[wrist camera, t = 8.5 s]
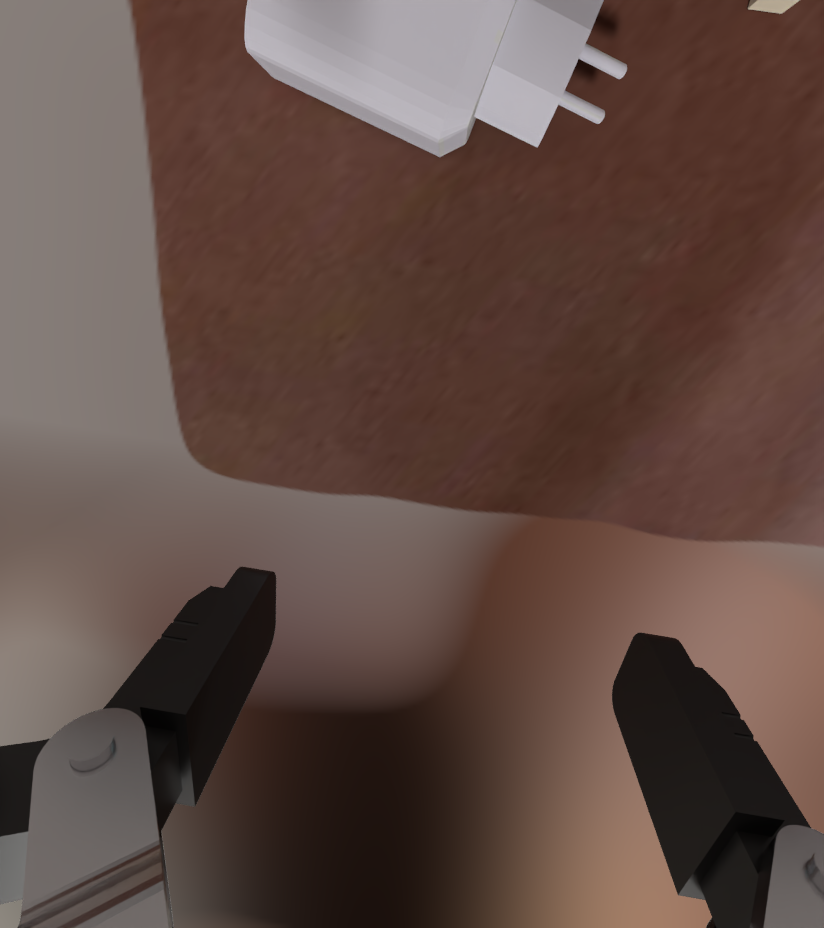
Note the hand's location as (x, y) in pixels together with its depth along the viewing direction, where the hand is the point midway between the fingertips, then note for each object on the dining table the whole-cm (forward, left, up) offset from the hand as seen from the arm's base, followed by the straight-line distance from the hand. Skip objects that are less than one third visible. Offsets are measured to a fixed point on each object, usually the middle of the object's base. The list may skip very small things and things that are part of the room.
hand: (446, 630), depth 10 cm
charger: (+3, -17, -20) cm, 26 cm away
